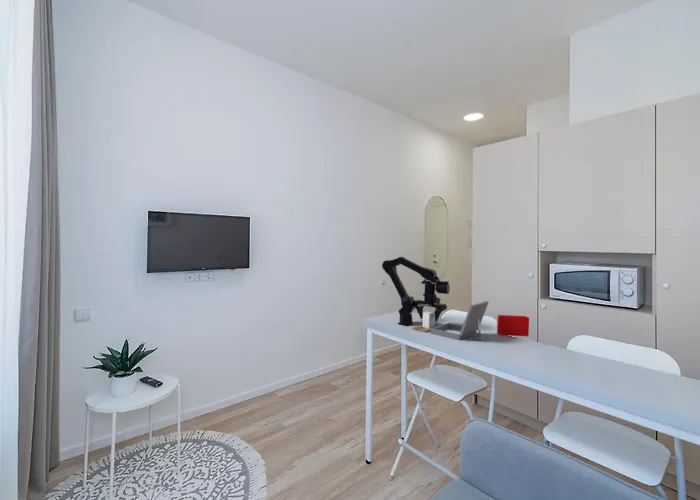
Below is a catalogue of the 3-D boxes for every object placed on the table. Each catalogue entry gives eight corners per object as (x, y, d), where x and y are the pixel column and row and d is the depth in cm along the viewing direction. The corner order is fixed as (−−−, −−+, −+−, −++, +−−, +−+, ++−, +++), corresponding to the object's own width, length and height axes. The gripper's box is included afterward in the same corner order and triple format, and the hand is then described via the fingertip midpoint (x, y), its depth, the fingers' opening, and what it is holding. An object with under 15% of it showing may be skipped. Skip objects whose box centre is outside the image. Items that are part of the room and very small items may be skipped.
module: (422, 326, 190) (422, 312, 190) (428, 325, 194) (428, 310, 194) (428, 328, 187) (429, 313, 187) (434, 326, 191) (435, 312, 191)
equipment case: (430, 333, 179) (431, 314, 179) (448, 327, 192) (449, 309, 192) (474, 343, 162) (475, 322, 162) (491, 336, 176) (491, 316, 176)
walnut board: (411, 329, 187) (411, 328, 187) (431, 323, 201) (431, 322, 201) (425, 332, 180) (425, 331, 180) (445, 326, 195) (445, 325, 195)
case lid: (470, 305, 164) (472, 306, 163) (486, 301, 177) (488, 301, 177) (459, 334, 168) (461, 336, 167) (476, 328, 181) (478, 329, 181)
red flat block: (526, 334, 181) (526, 316, 180) (528, 336, 178) (529, 317, 178) (496, 333, 182) (497, 314, 182) (498, 335, 179) (499, 315, 179)
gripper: (452, 293, 189) (451, 321, 190) (423, 289, 202) (422, 315, 203) (442, 295, 181) (441, 324, 182) (412, 290, 194) (411, 318, 195)
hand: (428, 320), depth 190 cm, fingers open, 9 cm apart
